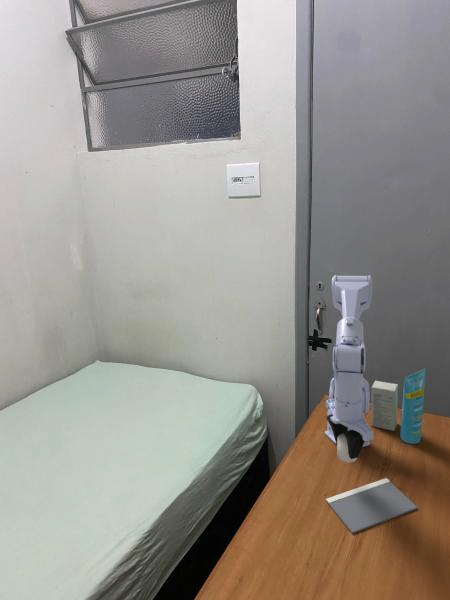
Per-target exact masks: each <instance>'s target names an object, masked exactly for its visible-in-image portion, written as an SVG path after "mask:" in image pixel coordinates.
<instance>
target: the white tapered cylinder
mask: <svg viewBox="0 0 450 600" xmlns="http://www.w3.org/2000/svg"><path fill="white" fill-rule="evenodd" d="M336 448H337V449H336V450H337V451H336V453H337V458H338V459H339V460H340V461H341V462H343V463H354V462H356V461H357V460H358V458H359V457H357V458H354V459H351V458H350V457H349V453H348V444H347V440H346V437H345V435H344V433H342V434H340V435H338V437H337V445H336Z"/></svg>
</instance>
